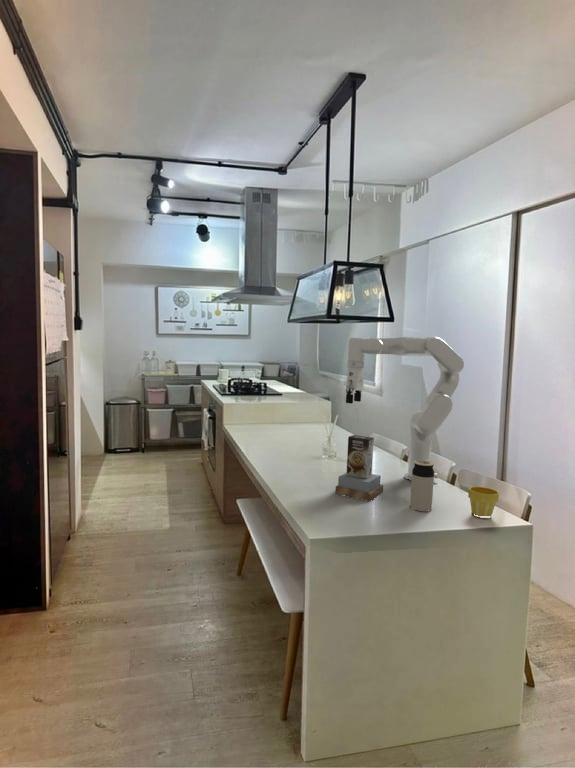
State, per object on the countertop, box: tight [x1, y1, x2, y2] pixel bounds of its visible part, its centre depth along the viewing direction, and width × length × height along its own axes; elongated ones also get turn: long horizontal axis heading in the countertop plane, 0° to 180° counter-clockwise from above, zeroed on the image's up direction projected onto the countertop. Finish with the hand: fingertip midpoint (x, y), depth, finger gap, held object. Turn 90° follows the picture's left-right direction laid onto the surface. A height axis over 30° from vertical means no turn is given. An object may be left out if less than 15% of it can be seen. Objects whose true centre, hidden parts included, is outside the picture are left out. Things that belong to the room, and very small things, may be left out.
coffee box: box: [345, 434, 375, 479], centre depth 203 cm, size 9×6×16 cm
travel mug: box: [409, 460, 435, 512], centre depth 188 cm, size 8×8×18 cm
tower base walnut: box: [335, 483, 384, 502], centre depth 204 cm, size 15×15×4 cm
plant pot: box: [467, 486, 500, 517], centre depth 183 cm, size 10×10×10 cm
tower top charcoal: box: [337, 472, 382, 492], centre depth 204 cm, size 13×13×4 cm
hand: (353, 402), depth 228 cm, fingers open, 9 cm apart
